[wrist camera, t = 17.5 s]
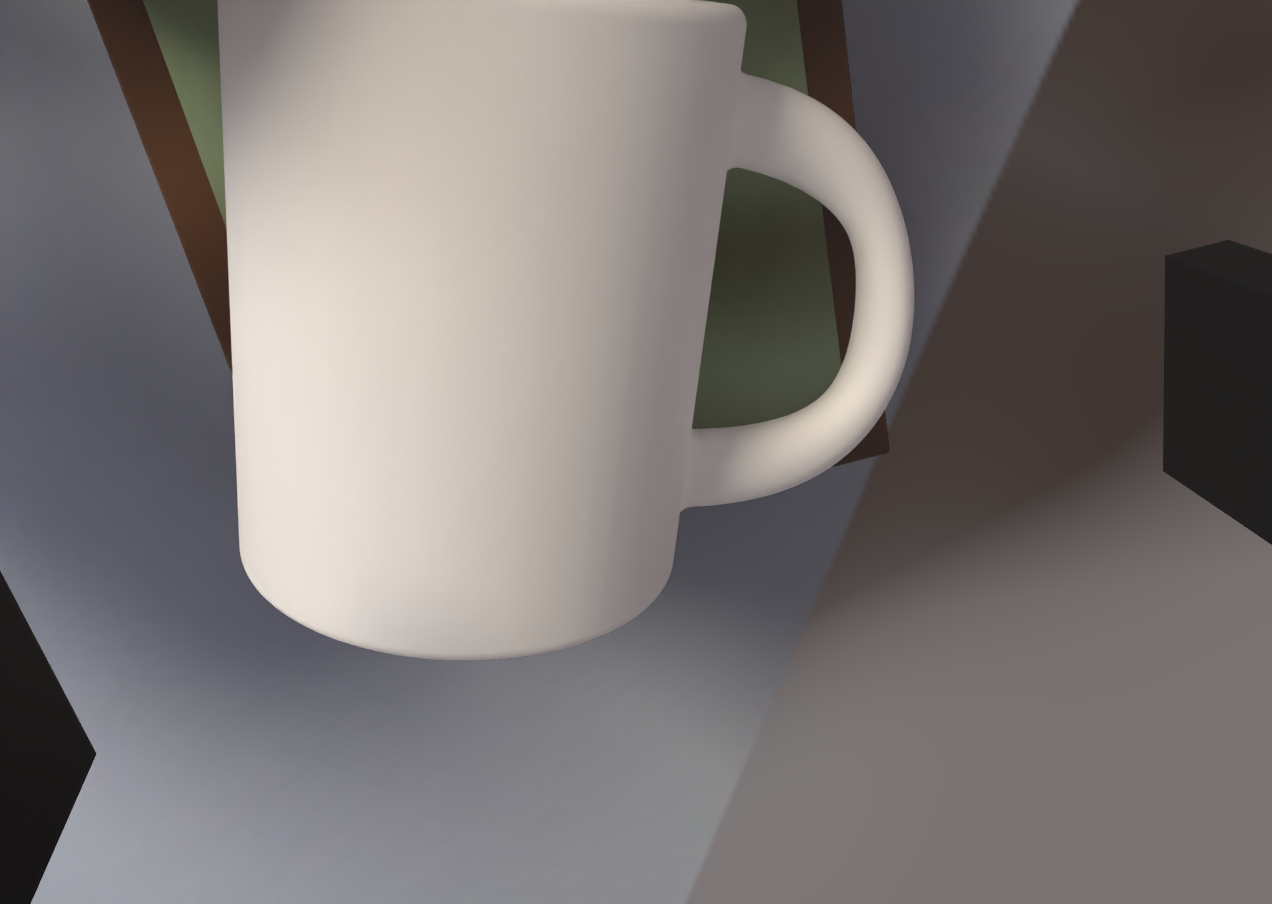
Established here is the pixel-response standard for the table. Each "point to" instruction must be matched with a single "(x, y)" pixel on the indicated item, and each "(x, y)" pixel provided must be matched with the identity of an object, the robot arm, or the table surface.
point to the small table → (748, 232)
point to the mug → (508, 306)
